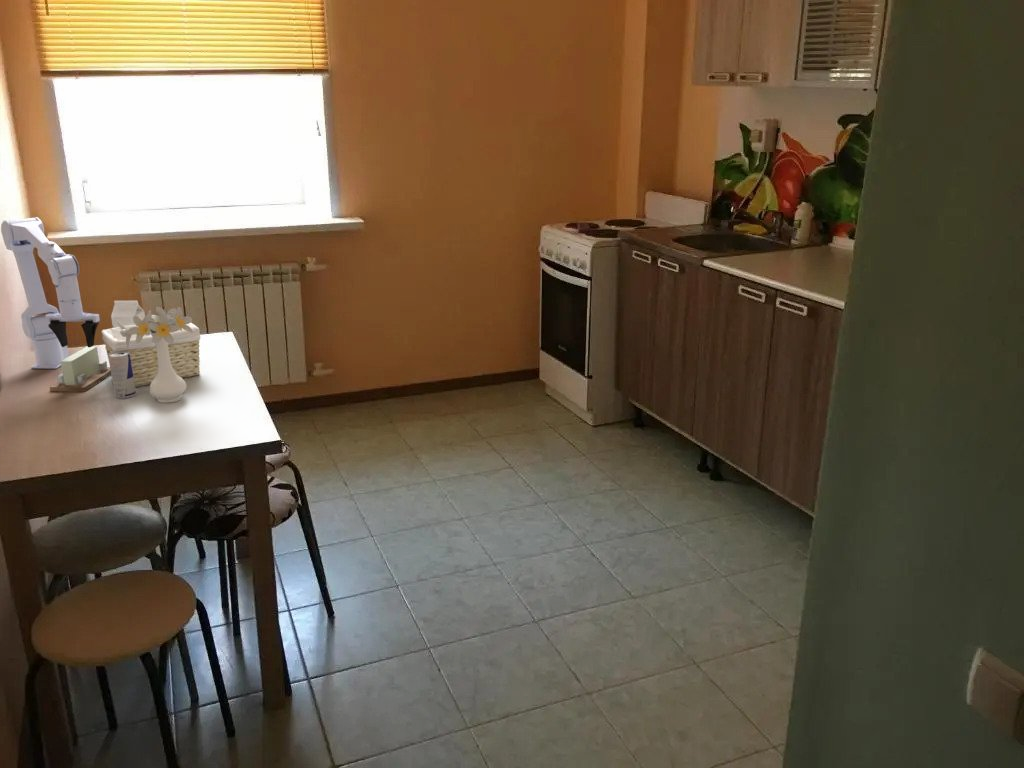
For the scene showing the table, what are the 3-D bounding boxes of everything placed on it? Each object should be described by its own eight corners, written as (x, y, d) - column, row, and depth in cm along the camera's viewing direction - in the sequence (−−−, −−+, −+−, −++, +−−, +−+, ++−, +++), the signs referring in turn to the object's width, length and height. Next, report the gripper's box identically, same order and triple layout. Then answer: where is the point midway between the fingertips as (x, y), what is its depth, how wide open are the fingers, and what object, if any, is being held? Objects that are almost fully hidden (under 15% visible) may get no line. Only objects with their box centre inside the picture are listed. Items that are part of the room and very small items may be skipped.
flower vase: (125, 400, 232) (111, 310, 224) (195, 386, 242) (183, 300, 234) (136, 414, 222) (121, 321, 214) (209, 400, 232) (197, 310, 223)
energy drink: (140, 392, 238) (133, 351, 234) (130, 399, 233) (123, 357, 229) (121, 392, 238) (114, 350, 234) (111, 398, 233) (103, 356, 229)
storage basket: (190, 362, 264) (183, 315, 259) (207, 375, 251) (201, 327, 246) (107, 378, 250) (98, 329, 245) (121, 393, 238) (112, 341, 233)
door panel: (90, 369, 254) (86, 346, 251) (100, 369, 253) (96, 346, 251) (65, 385, 240) (60, 361, 238) (75, 385, 240) (71, 361, 238)
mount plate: (83, 370, 256) (83, 366, 256) (116, 370, 256) (115, 367, 255) (50, 391, 239) (49, 387, 239) (85, 391, 239) (84, 387, 238)
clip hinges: (84, 368, 254) (83, 360, 253) (107, 369, 254) (106, 361, 253) (58, 384, 241) (57, 376, 240) (82, 385, 240) (81, 376, 240)
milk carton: (142, 364, 262) (132, 303, 255) (118, 364, 262) (108, 303, 256) (151, 357, 268) (142, 297, 262) (128, 357, 269) (119, 298, 262)
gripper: (35, 302, 236) (45, 350, 241) (87, 303, 235) (95, 350, 240) (50, 296, 243) (58, 342, 247) (100, 297, 242) (108, 343, 247)
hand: (77, 346), depth 244 cm, fingers open, 7 cm apart
